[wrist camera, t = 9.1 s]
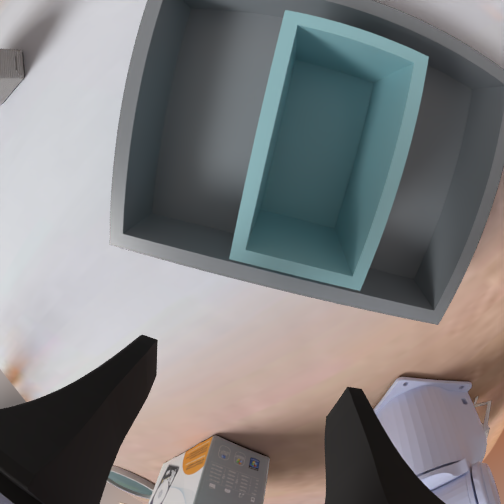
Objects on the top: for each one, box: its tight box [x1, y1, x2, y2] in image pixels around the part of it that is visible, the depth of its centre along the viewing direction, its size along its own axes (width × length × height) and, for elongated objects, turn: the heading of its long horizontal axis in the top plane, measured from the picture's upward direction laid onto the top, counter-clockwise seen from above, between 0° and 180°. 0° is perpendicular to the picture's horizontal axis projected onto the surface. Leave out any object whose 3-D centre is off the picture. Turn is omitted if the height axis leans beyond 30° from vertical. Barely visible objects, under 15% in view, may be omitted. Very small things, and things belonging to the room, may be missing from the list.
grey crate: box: [109, 0, 504, 325], centre depth 13 cm, size 18×14×4 cm
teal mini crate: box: [229, 10, 429, 291], centre depth 12 cm, size 5×9×6 cm, turn 168°
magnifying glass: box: [107, 466, 155, 499], centre depth 39 cm, size 13×31×2 cm, turn 87°
